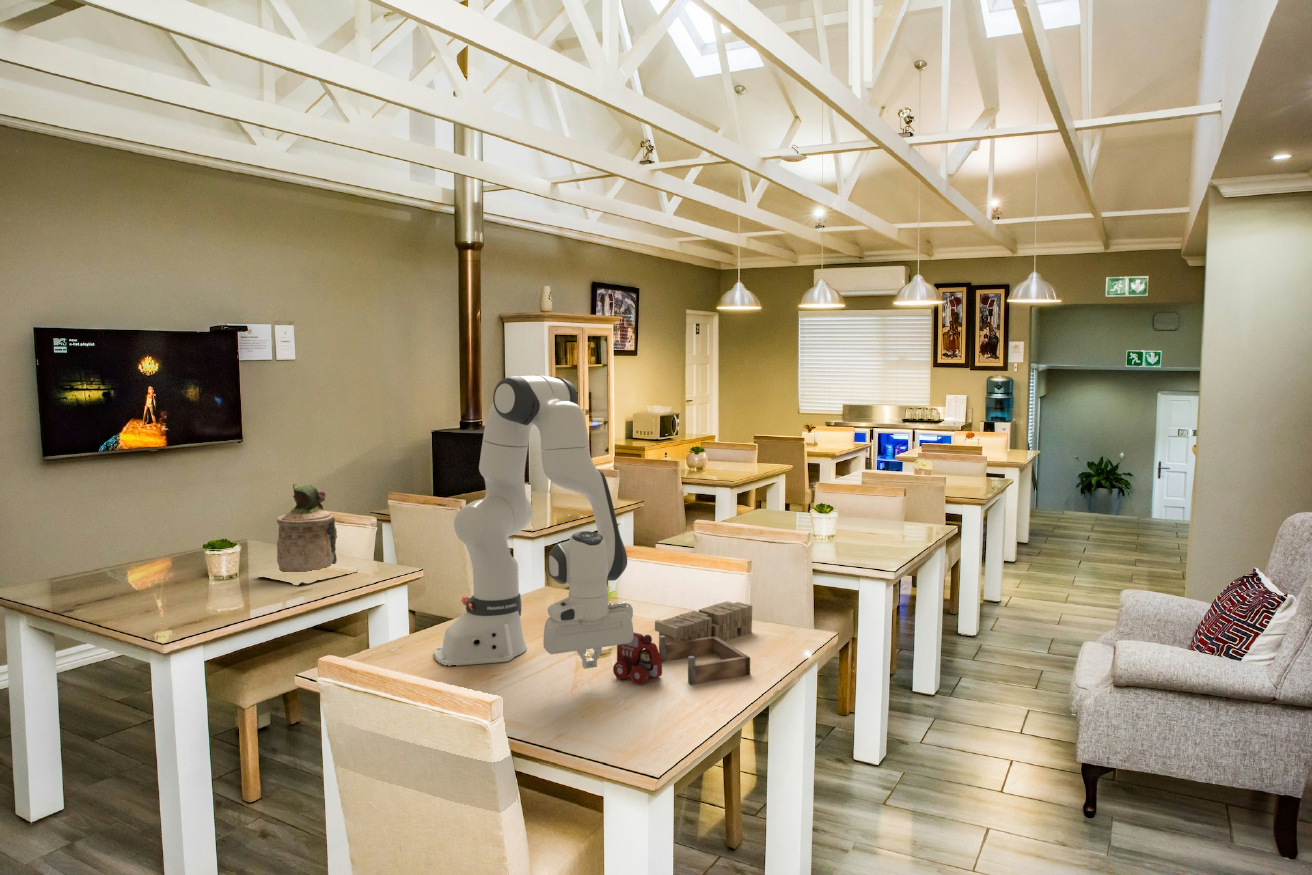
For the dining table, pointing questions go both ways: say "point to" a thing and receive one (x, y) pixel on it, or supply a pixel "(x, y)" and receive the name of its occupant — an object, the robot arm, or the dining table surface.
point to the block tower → (708, 623)
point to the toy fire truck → (638, 660)
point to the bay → (728, 667)
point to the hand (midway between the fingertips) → (589, 667)
